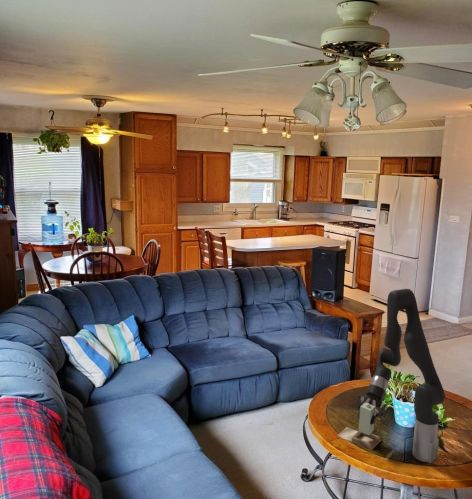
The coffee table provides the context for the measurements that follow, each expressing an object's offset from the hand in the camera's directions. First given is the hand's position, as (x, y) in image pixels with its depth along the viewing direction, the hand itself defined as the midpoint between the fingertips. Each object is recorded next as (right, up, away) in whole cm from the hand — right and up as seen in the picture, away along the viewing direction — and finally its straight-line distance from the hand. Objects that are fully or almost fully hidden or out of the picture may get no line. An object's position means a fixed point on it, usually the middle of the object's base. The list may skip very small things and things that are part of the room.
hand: (365, 421), depth 204 cm
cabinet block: (+1, -5, +2) cm, 6 cm away
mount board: (-2, -11, +5) cm, 12 cm away
